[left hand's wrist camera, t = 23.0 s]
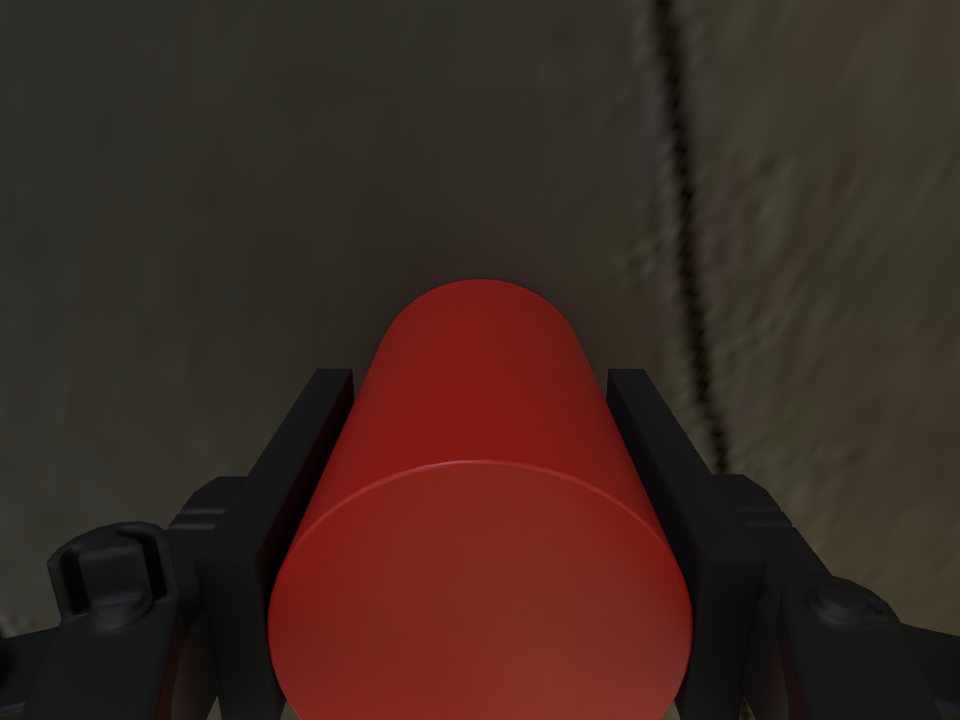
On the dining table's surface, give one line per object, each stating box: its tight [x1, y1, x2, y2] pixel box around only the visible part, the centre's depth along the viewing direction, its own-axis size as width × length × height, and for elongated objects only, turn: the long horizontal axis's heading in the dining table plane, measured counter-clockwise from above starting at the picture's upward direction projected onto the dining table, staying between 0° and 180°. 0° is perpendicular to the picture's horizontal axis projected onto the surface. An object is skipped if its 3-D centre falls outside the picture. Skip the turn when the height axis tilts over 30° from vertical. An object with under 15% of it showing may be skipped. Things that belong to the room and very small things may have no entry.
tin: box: [267, 279, 694, 720], centre depth 13 cm, size 6×6×9 cm
